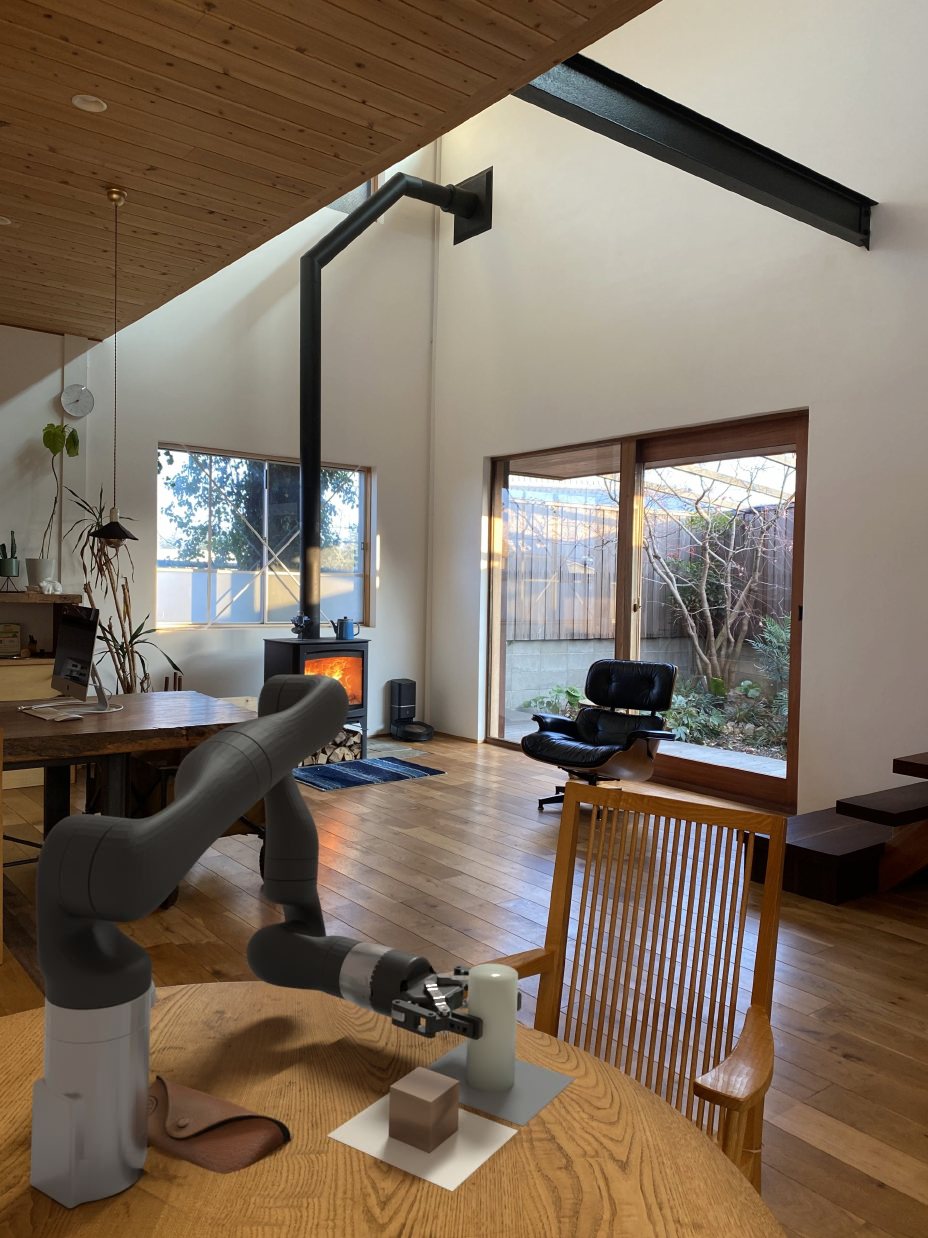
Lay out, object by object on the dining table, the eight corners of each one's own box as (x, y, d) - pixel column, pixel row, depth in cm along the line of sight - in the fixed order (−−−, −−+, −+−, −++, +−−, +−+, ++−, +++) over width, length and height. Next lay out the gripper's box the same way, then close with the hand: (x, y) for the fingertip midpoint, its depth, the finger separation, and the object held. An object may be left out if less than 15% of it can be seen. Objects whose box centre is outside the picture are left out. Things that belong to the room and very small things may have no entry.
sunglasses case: (94, 1138, 92) (122, 1066, 95) (140, 1144, 97) (165, 1075, 100) (234, 1196, 84) (261, 1115, 86) (276, 1199, 89) (299, 1122, 92)
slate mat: (522, 1136, 95) (523, 1126, 95) (405, 1090, 103) (405, 1082, 103) (574, 1087, 105) (575, 1078, 105) (464, 1049, 113) (464, 1041, 113)
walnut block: (429, 1154, 89) (431, 1102, 89) (388, 1136, 92) (389, 1086, 92) (458, 1130, 93) (459, 1081, 93) (417, 1114, 96) (419, 1066, 96)
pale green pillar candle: (499, 1097, 100) (502, 987, 100) (456, 1082, 103) (459, 975, 103) (523, 1077, 105) (526, 971, 104) (482, 1063, 108) (485, 960, 107)
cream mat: (451, 1202, 84) (452, 1191, 84) (326, 1145, 92) (326, 1135, 92) (517, 1141, 94) (518, 1131, 94) (399, 1094, 102) (399, 1085, 102)
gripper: (419, 991, 118) (531, 1026, 109) (347, 1033, 106) (465, 1075, 97) (421, 933, 118) (533, 963, 109) (348, 968, 106) (467, 1004, 97)
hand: (501, 1016), depth 103 cm, fingers open, 8 cm apart
